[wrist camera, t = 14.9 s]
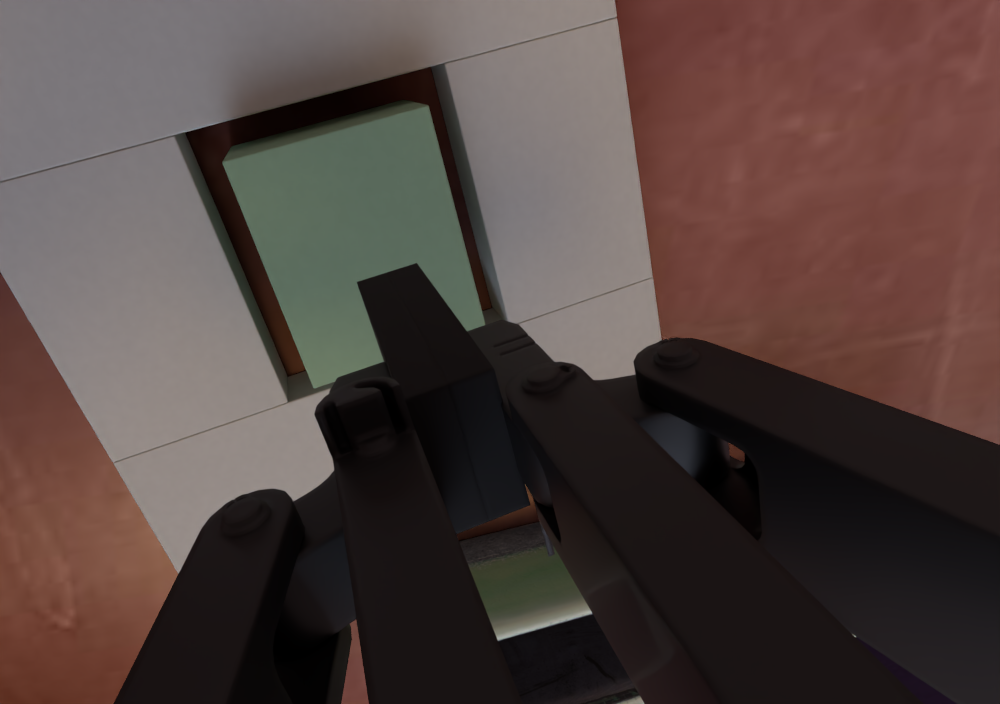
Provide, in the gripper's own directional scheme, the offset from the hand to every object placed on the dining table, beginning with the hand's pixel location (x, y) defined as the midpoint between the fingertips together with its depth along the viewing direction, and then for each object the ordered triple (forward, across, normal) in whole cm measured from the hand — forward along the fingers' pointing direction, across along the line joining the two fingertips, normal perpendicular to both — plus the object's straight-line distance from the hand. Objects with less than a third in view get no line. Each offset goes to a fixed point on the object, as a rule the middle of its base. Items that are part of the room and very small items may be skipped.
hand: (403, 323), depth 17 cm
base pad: (+11, 0, 0) cm, 11 cm away
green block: (+11, 0, 0) cm, 11 cm away
